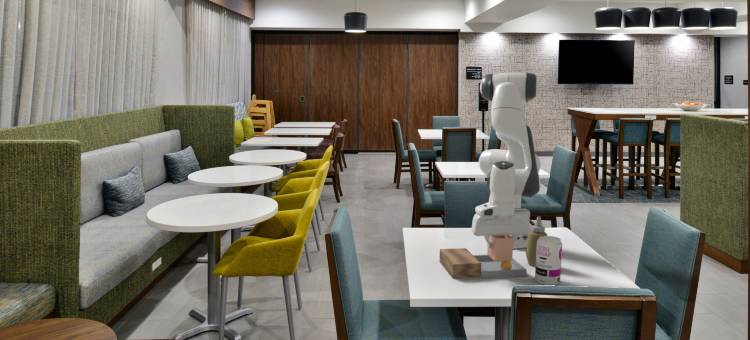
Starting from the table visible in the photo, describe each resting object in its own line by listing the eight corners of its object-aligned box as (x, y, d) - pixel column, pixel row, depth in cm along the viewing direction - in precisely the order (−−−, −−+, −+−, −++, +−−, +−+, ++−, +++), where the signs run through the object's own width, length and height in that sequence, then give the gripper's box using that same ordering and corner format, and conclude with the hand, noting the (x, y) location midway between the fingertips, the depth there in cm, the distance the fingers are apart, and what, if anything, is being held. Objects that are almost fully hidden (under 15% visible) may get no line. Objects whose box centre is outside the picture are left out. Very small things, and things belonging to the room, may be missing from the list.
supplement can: (559, 279, 196) (562, 236, 194) (560, 287, 188) (562, 243, 186) (535, 276, 199) (537, 234, 196) (534, 284, 191) (536, 240, 188)
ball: (496, 265, 204) (505, 270, 205) (500, 269, 200) (509, 274, 201) (502, 256, 204) (511, 261, 205) (506, 259, 200) (515, 265, 201)
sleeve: (503, 253, 206) (504, 232, 205) (512, 260, 198) (513, 238, 197) (487, 254, 205) (488, 232, 204) (494, 261, 197) (496, 238, 196)
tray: (507, 260, 216) (507, 253, 216) (526, 276, 199) (526, 269, 198) (466, 261, 214) (466, 255, 214) (481, 278, 196) (481, 271, 196)
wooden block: (465, 261, 215) (465, 248, 214) (480, 277, 197) (481, 263, 197) (439, 262, 214) (439, 249, 213) (452, 278, 196) (453, 264, 195)
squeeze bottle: (545, 269, 206) (547, 220, 203) (522, 265, 210) (525, 217, 207) (550, 263, 213) (552, 216, 210) (528, 259, 217) (530, 213, 214)
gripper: (526, 205, 203) (524, 243, 206) (470, 207, 201) (469, 245, 203) (533, 209, 197) (531, 248, 199) (476, 211, 194) (475, 250, 197)
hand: (500, 247), depth 201 cm, fingers closed on sleeve, 6 cm apart
